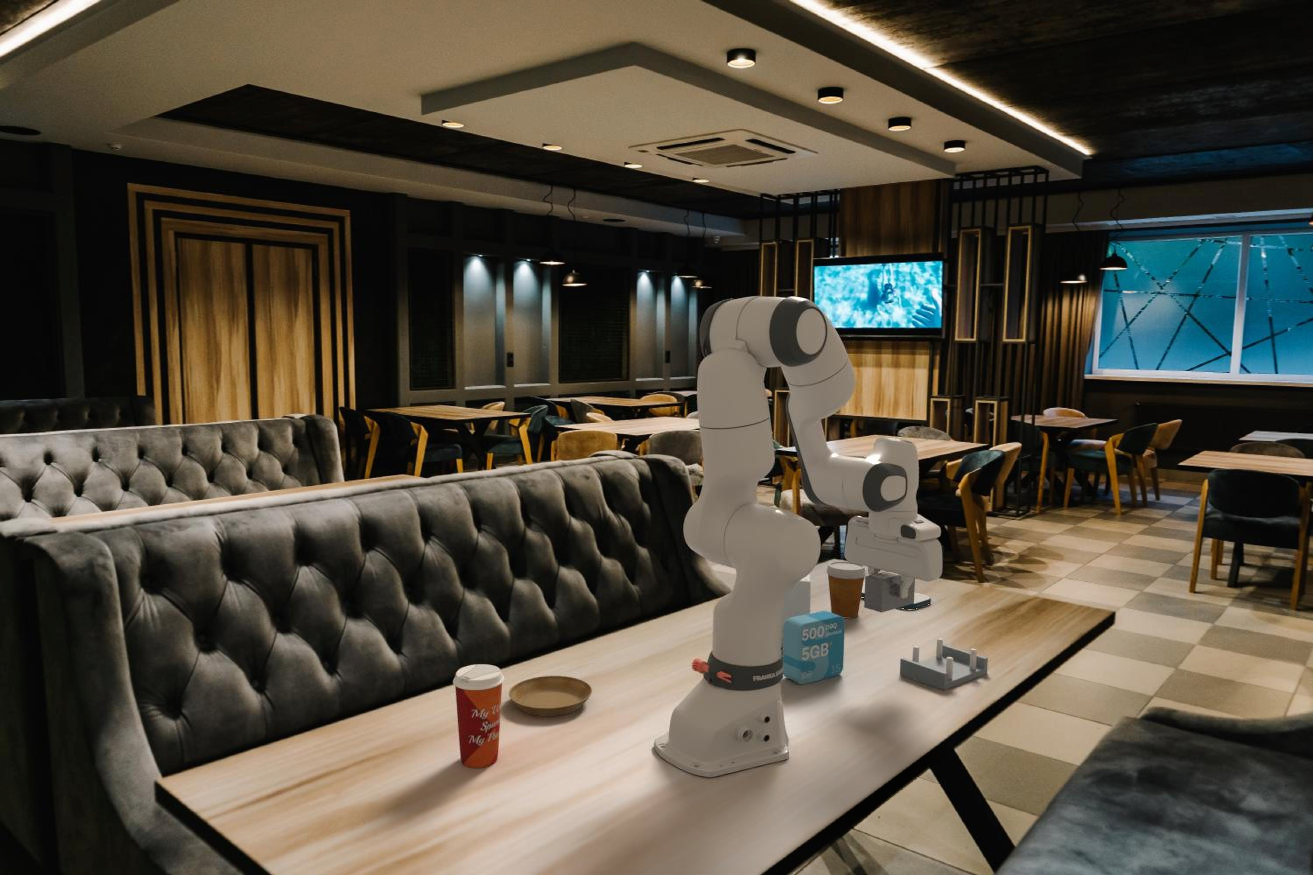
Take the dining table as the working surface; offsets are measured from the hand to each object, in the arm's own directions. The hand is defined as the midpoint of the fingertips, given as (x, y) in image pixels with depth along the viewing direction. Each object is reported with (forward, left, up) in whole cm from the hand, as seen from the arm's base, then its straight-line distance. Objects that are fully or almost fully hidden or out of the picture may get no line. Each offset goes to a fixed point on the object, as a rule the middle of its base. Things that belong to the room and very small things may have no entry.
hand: (889, 593), depth 168 cm
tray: (+13, -4, -17) cm, 22 cm away
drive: (0, 0, -2) cm, 2 cm away
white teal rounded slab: (+48, +37, -18) cm, 63 cm away
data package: (-9, +10, -18) cm, 22 cm away
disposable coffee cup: (+28, +33, -18) cm, 47 cm away
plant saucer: (-57, +29, -18) cm, 67 cm away
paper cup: (-77, +17, -18) cm, 81 cm away
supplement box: (+2, +27, -18) cm, 33 cm away
